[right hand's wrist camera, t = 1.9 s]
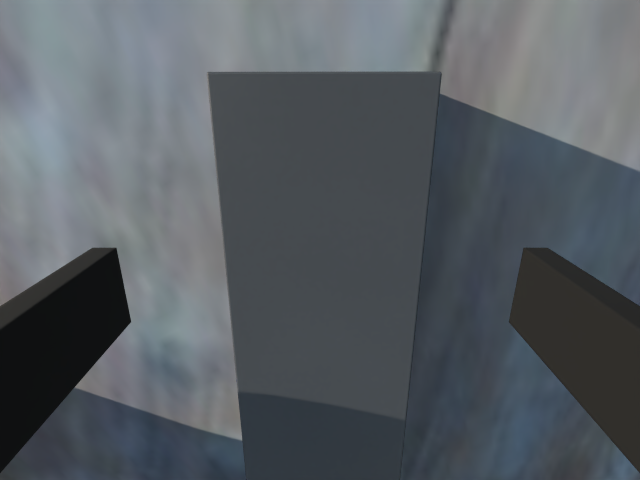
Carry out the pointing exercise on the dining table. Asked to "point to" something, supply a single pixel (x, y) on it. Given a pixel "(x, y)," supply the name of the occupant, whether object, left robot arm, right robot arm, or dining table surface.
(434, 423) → the dining table surface
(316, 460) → the wide beam
